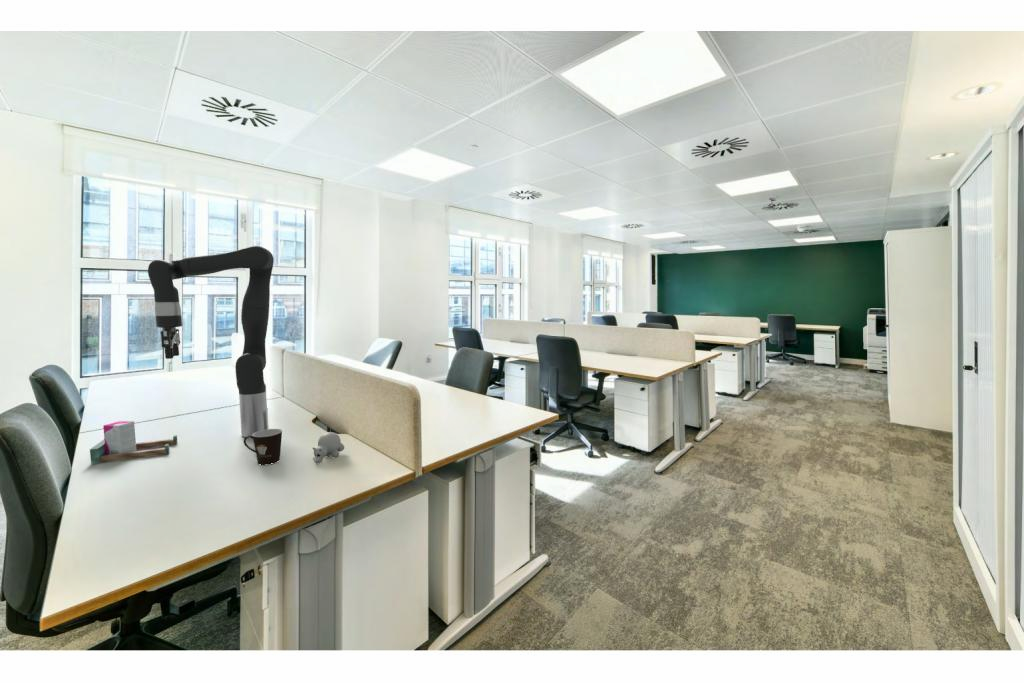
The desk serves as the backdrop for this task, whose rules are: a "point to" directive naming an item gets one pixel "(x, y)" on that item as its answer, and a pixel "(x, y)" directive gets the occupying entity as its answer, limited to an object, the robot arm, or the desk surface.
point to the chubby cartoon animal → (327, 446)
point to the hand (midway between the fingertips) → (172, 357)
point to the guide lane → (100, 455)
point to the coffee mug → (266, 445)
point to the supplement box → (119, 437)
